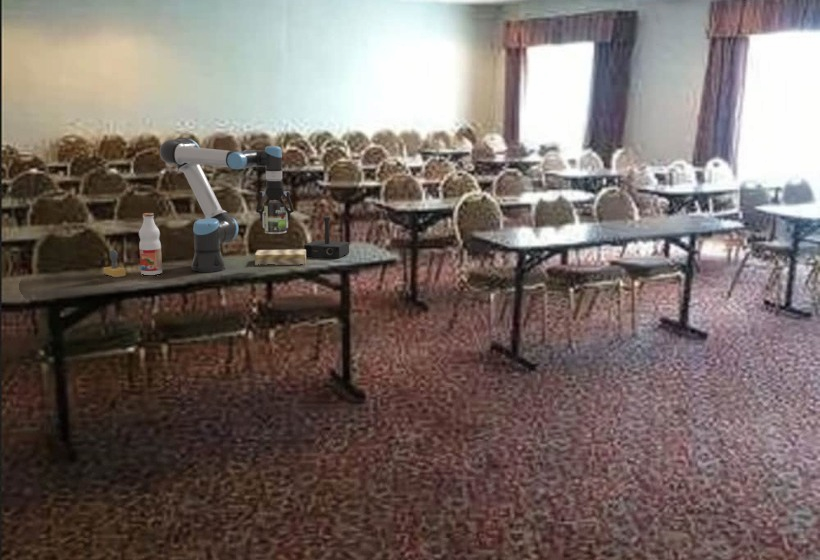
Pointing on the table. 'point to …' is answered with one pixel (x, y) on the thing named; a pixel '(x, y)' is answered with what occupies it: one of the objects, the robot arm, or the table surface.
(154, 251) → the fruit juice
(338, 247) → the projector
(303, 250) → the beige flat block
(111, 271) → the rubber stamp
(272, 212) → the coffee can
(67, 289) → the table surface
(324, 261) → the table surface
